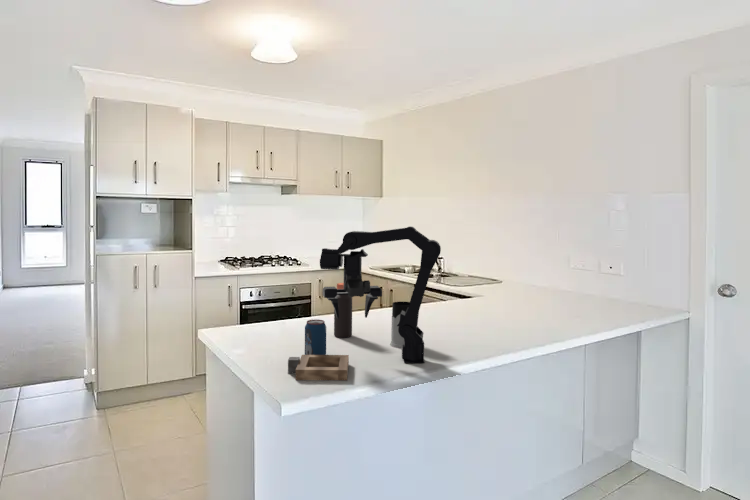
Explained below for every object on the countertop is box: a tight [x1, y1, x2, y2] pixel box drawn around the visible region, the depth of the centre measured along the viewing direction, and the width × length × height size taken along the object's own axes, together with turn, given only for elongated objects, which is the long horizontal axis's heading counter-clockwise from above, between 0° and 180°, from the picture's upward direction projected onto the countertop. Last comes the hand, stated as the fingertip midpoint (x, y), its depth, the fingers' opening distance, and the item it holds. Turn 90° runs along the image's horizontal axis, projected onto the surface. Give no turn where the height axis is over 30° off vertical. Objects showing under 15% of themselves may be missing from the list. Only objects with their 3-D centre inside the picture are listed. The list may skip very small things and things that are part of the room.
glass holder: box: [389, 301, 410, 349], centre depth 184 cm, size 9×14×15 cm, turn 15°
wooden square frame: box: [287, 354, 350, 381], centre depth 151 cm, size 18×14×4 cm
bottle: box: [333, 282, 353, 339], centre depth 192 cm, size 7×7×20 cm
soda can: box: [304, 319, 327, 355], centre depth 164 cm, size 7×7×12 cm
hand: (351, 317), depth 165 cm, fingers open, 9 cm apart
